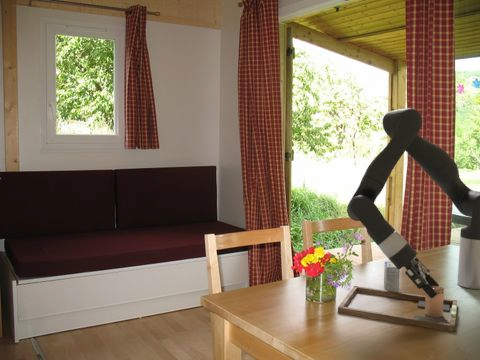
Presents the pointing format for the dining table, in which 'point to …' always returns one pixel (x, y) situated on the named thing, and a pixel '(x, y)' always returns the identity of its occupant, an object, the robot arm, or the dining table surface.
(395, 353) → the dining table surface
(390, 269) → the medicine box
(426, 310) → the terracotta jar
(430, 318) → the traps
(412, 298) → the box
